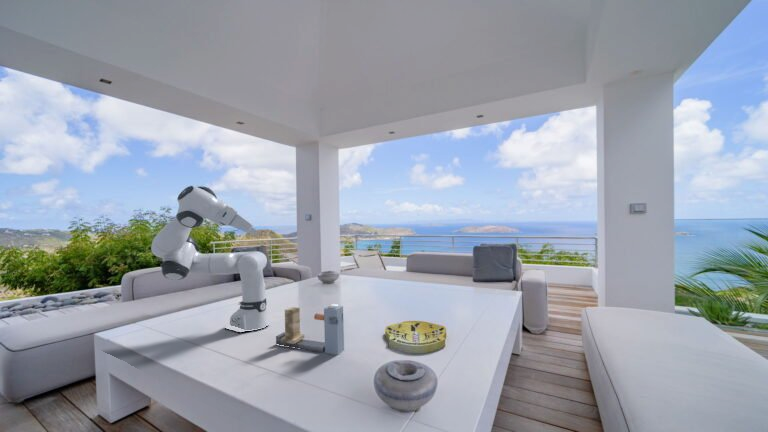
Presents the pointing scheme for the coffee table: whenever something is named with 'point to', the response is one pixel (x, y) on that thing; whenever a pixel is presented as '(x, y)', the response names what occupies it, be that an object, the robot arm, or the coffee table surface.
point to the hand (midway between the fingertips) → (254, 232)
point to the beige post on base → (292, 326)
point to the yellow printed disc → (416, 336)
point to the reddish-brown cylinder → (319, 316)
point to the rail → (303, 344)
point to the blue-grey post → (334, 329)
